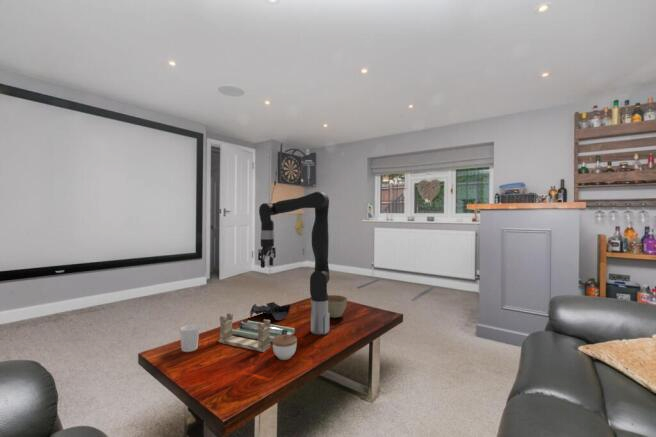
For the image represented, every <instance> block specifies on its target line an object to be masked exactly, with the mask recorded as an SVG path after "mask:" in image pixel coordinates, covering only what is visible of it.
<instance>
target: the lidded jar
mask: <svg viewBox="0 0 656 437" xmlns="http://www.w3.org/2000/svg"><path fill="white" fill-rule="evenodd" d="M297 342H298V338H297V336H295V335H294V334H292V335H288V334H284V335H278V336H276V337H274V338H273V340H272V342H271V344H272V351H273V354H274V355H275V356H276V357H277V358H278V360H281V361H286V360H290V359H291V358H292V357H293V355H294V354H295V353H296V351H297V347H298V346H297V344H298V343H297Z"/></svg>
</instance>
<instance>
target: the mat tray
mask: <svg viewBox="0 0 656 437" xmlns="http://www.w3.org/2000/svg"><path fill="white" fill-rule="evenodd" d="M246 323H250V324H255V325H257V323H261V322H260V321H252V320H247V321H246ZM270 327H273V328H279V329H287V334H288V335H294V334H295V333H296V328H295V327H294V328H293V327H288V326H283V325H282V326H281V325H276V324H272V323H270ZM232 335H234V336H238V337H242V338H247V339H252V340H258V331H254V330H249V329H244V328H242V329H241V328H239V327H238V328H236V329H234V328H232ZM276 336H278V335H276V334H271V333H270V343H272V340H273V338H274V337H276Z"/></svg>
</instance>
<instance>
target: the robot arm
mask: <svg viewBox="0 0 656 437" xmlns="http://www.w3.org/2000/svg"><path fill="white" fill-rule="evenodd" d="M329 207H330V198H329V196H328V195H327V193H326V192H323V191H314V192H312V193H309V194H307V195H304V196H301V197H295V198H289V199H283V200H279V201H277V202H273V203H269V202H268V203H267V202H264V203H261V204H260V205H259V208H258V212H259V213H258V215H259V218H260V219H259V220H260V224H261V225H260V226H261V227H260V229H261V230H260V247H262V248H261V249H258V254H257V257H258V258H257V260H258V261H260V268H261V269H264V268H266V259H267V257H268V258H269V259H268V260H269V261H268V263H269V264H268V265H269V266H270V267H271V266H274V260H275V258H276V256H277V255H276V251H277V250H276V247H274V246H275V232H274V230H275V228H274V227H275V225H274V224H275V223H274V221H273V220H272V217H271V216H275V215H279V214H285V213H292V212H294V211H297V210H301V209H302V210H303V209H314V214H315V215H314V222H313V226H312V230H311V248H312V253H313V256H314V271H313V272H312V273H311V274H310V279H309V292H310V293H309V295H310V332H311V333H312V334H314V335H326V334H328V333H329V332H330V317H329V316H330V314H329V313H328V295H329V294H328V283H329V281H330V277H331V276H330V269H329V267H330V266H329V243H330V242H329V241H330V240H329Z"/></svg>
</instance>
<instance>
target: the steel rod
mask: <svg viewBox="0 0 656 437" xmlns="http://www.w3.org/2000/svg"><path fill="white" fill-rule="evenodd" d="M238 328H241V329H242V328H244V329H249V330H254V331H258V329H257V325H255V324H250V323H247V322H244V321H240V322H239V323H238ZM270 333H271V334H276V335H284V334H287V329H279V328H273V327H270Z"/></svg>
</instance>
